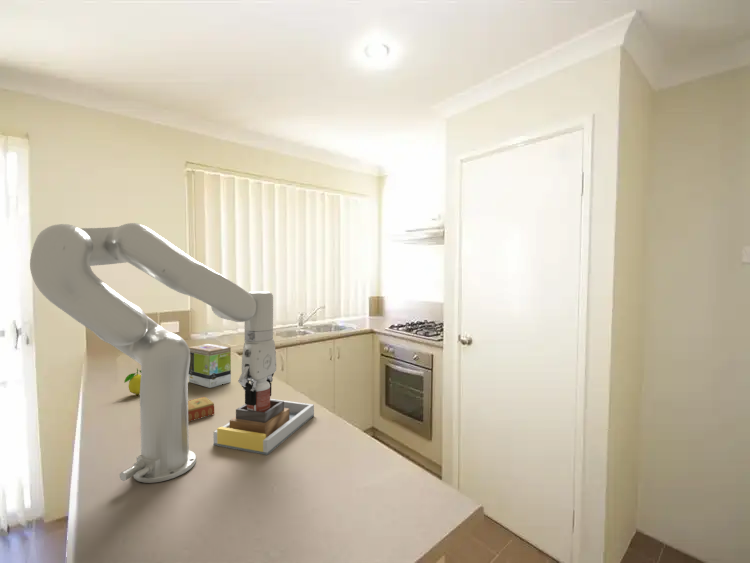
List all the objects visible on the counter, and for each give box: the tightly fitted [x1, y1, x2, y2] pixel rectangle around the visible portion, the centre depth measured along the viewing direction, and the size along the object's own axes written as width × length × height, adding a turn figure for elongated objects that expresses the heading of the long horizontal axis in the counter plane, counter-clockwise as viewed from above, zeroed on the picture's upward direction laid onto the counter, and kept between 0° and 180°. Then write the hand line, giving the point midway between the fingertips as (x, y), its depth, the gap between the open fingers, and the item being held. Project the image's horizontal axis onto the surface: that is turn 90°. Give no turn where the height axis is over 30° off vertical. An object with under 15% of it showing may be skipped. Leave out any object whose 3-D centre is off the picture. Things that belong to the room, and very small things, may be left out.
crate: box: [229, 399, 289, 438], centre depth 98 cm, size 12×11×8 cm
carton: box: [188, 396, 215, 422], centre depth 109 cm, size 8×16×4 cm, turn 135°
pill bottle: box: [247, 376, 271, 412], centre depth 98 cm, size 6×6×11 cm
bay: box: [213, 398, 315, 456], centre depth 102 cm, size 25×16×5 cm, turn 163°
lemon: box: [123, 367, 141, 396], centre depth 130 cm, size 7×6×10 cm
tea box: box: [188, 343, 232, 389], centre depth 144 cm, size 15×10×15 cm
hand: (258, 399), depth 98 cm, fingers closed on pill bottle, 6 cm apart
